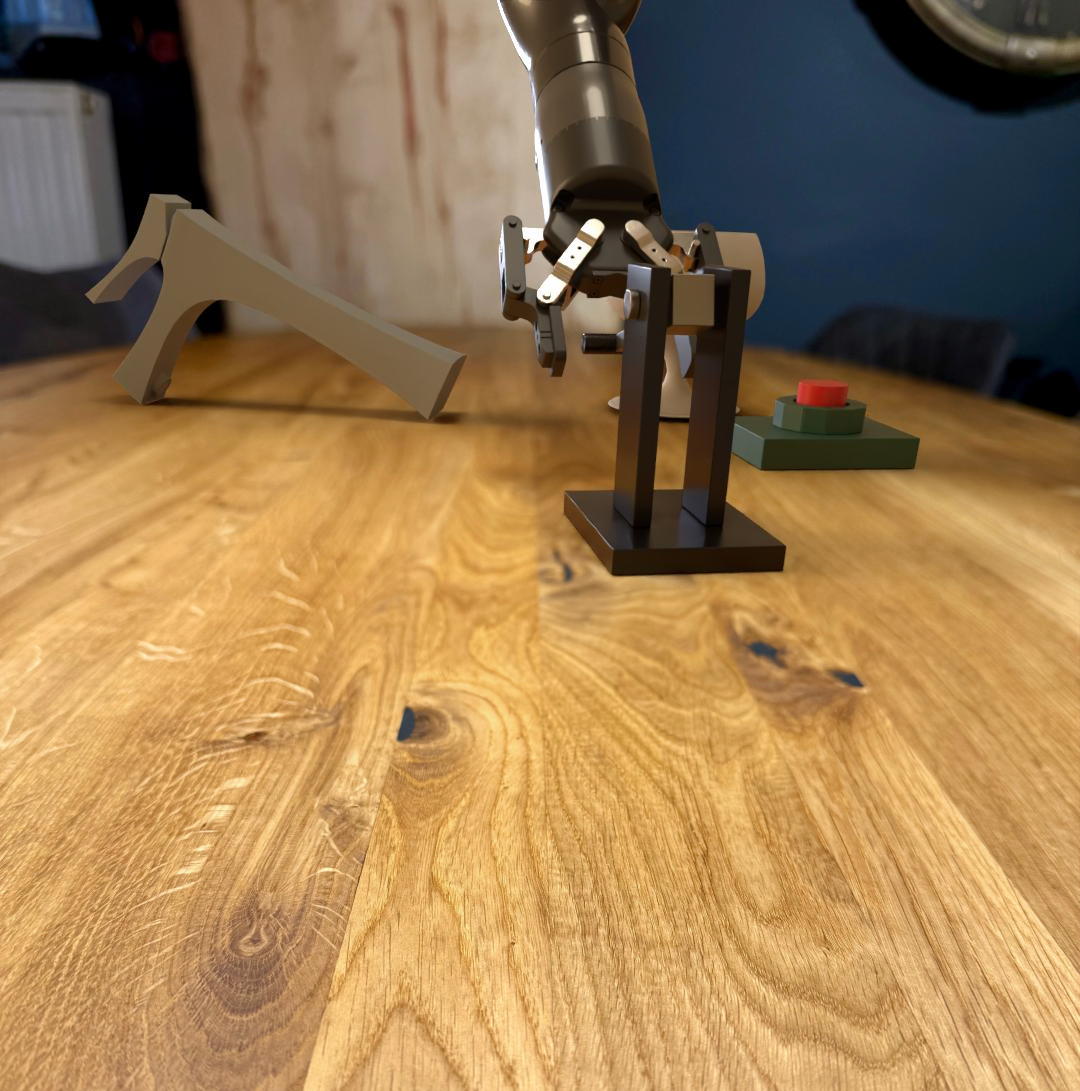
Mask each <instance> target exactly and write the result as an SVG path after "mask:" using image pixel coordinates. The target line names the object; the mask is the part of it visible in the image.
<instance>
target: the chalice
mask: <svg viewBox="0 0 1080 1091" xmlns="http://www.w3.org/2000/svg"><path fill="white" fill-rule="evenodd" d="M671 231H672V233H695V231H696V230H683V229H671ZM715 232H716V236H717V240H718V244H719V248H720V252H721V256H722V260H723V264H724V266H728V267H735V268H742V269H748V270H751V281H750V290H749V299H748V308H747V317H746V321H748V320H749V319H750V318H751V317H752V316H753V315H754V314H755V313H756V311H757V310H758V309H759V308H760V305H761V303H762V301H763V299H764V295H765V290H766V267H765V258H764V252H763V248H762V245H761V242H760V238H759V236H758V235H757V233H755V232H753V233H752V232H735V231H733V232H732V231H715ZM671 256H672V257H673V258H674V259H675V260H676V261H677V262H678V263H679V264H680V265H681V267H682V270H683V267H684V266H683V265H682V263H681V261H680V259H679V258H678V257H676V256H674V255H671ZM683 274H690V272H685V271H683ZM605 298H606V302H607V303H608V305H609V306H610V308H611V310H612V311H613V312H614V313H615V314H616V315H617V316H618V317H619V318H620V319H622V320H623V321H624V322H625V316H624V299H621V298H617V297H612V296H608V297H605ZM664 362H665V366H666V367H665V368H666V374H665V377H664V380H663V381H662V394H661V406H660V418H667V419H690V408H691V397H692V387H691V386H690V384H689V382H688V378H682V376H681V370H680V364H679V359H678V353H677V347H676V342H675V336H674V335H666V343H665V356H664ZM619 403H620V395H618V396H614V397H613V398H611V399H609V401H608V402H607V404H608V405H609V407H611V408H614V409H616V410H618V411H619ZM740 411H741V408H740V407H739V406H738V405H737V407H736V414H738V413H740Z"/></svg>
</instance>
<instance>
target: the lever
mask: <svg viewBox="0 0 1080 1091" xmlns="http://www.w3.org/2000/svg"><path fill="white" fill-rule="evenodd" d="M714 324H715V275H713V274H672V275H671V281H670V293H669V306H668V318H667V331H666V335H697V334H699V333H701V332H703V331H705V330H707V329H709V328H711V327H713V326H714ZM623 340H624V329H623V330H621V331H619V332H618V333H605V332H604V333H600V332H599V333H598V332H593V333H592V332H584V333H583V334H582V335H581V341H580V348H581V353H582V354H583V355H614V356H615V355H616V356H617V355H618V356H619V355H620V356H621V355H623Z"/></svg>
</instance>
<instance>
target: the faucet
mask: <svg viewBox="0 0 1080 1091" xmlns="http://www.w3.org/2000/svg"><path fill="white" fill-rule="evenodd" d="M160 261H161V266H162V269H163V280H162V287H161V289H160V292H159V295H158V298H157V301H156V303H155V306H154V308H153V310H152V313H151V315H150V317H149V319H148V321H147V322H146V324H145V326H144V328H143V330H142V331H141V334H140V335H139V336H138V338H137V340H136V342H135V343H134V345H133V346H132V348H131V350H130V351H128V354H127V355H126V356H125V358H124V359H123V361H122V362H121V363H120V364H119V366H118V368H117V369H116V370H115V371H114V373H113V374H112V376H111V377H112V378H113V379H114V380H115V381H116V383H118V384H119V385H120V387H122V388H123V389H124V390H125V391H126V392H127V393H128V394H129V395H130V396H131V397H132V398H133V399H134V400H135V401H137V403H138V404H139V405H145V404H147V403H151V402H153V401H156V400H160V399H162V398H165V396H166V393H167V390H168V388H169V387H170V385H171V383H172V378H171V377H172V374H173V372H174V369H175V367H176V363H177V361H178V358H179V356H180V353H181V351H182V348H183V346H184V344H185V342H186V339H187V337H188V335H189V333H190V331H191V330H192V328H193V326H194V324H195V322H196V321H197V320H198V319H199V318H200V315H201V314H203V312H204V311H205V310H206V309H207V308H208V307H210V305H212V304H213V303H215V302H218V301H229V302H234V303H238V304H242V305H244V306H247V307H250V308H252V309H255V310H258V311H260V312H263V313H265V314H267V315H270V316H272V317H274V318H276V319H278V320H280V321H282V322H283V323H285V324H287V325H289V326H291V327H292V328H294V329H296V330H298V331H299V332H302V333H303V334H305V335H306V336H308V337H309V338H311V339H313V340H314V341H316V342H317V343H319V344H321V345H322V346H324V347H326V348H327V349H329V350H330V351H332V352H334V353H335V354H337V355H338V356H340V357H342V358H343V359H344V360H346V361H348V362H349V363H351V364H352V365H353V366H355V367H357V368H358V369H360V370H361V371H363V372H364V373H365V374H367V375H368V376H370V377H372V378H373V379H374V380H376V381H377V382H379V383H380V384H382V385H383V386H385V387H386V388H387V389H388V390H390V391H391V392H392V393H394V394H395V395H397V396H398V397H400V398H401V399H402V400H403V401H404V402H406V403H407V404H408V405H410V406H411V407H412V408H413V409H414V410H415V411H416V412H418V413H419V414H420V415H421V416H422V417H424V418H425V419H426V420H431V419H433V418H435V417H436V416H437V415H439V413H440V412H441V411H442V410H444V409H445V406H446V404H447V402H448V399H449V398H450V396H451V393H452V391H453V389H454V386H455V385H456V383H457V380H458V378H459V375H460V373H461V371H462V368H463V367H464V364H465V362H466V360H467V358H468V355H467V354H465V353H462V352H459V351H456V350H453V349H450V348H448V347H445V346H443V345H440V344H437V343H435V342H432V341H430V340H428V339H425V338H423V337H421V336H419V335H417V334H414V333H412V332H410V331H408V330H406V329H403V328H401V327H400V326H397V325H395V324H393V323H390V322H388V321H387V320H385V319H383V318H381V317H378V316H376V315H374V314H372V313H370V312H369V311H366V310H364V309H362V308H360V307H358V306H356V305H354V304H353V303H350V302H349V301H346V300H345V299H343V298H342V297H340V296H338V295H336V294H333V293H331V292H329V291H328V290H325V289H324V288H322V287H320V286H318V285H317V284H315V283H313V282H311V281H309V280H308V279H306V278H304V277H303V276H301V275H299V274H298V273H296V272H295V271H293V270H292V269H290V268H288V267H287V266H285V265H283V264H282V263H281V262H279V261H277V260H275V259H274V258H272V257H271V256H269V255H268V254H266V253H264V252H262V250H259V249H258V248H256V247H255V246H253V245H252V244H250V243H249V242H247V241H246V240H244V239H243V238H241V237H240V236H239V235H237V234H235V233H234V232H233V231H231V230H230V229H229V228H227V227H226V226H224V225H223V224H221V223H220V222H219V221H218V220H217V219H215V218H213V217H212V216H211V215H210V214H209V213H207V212H206V211H205V210H203V209H196V208H195V209H193V208H192V203H191V202H190V201H189V200H186V199H185V198H183V197H181V196H179V195H178V194H161V193H150V194H149V197H148V201H147V204H146V207H145V210H144V214H143V216H142V219H141V221H140V225H139V227H138V229H137V233H136V234H135V237H134V239H133V240H132V243H131V244H130V246H129V248H128V249H127V251H126V252H125V253H124V255H123V256H122V258H121V260H120V261H119V262H118V263H117V264H116V265H115V266H114V267H113V268H112V269H111V271H109V272H108V273H107V274H106V276H104V278H102V279H101V280H100V281H99V282H97V284H96V285H94V286H93V287H92V288H90V290H89V291H87V292H86V293H85V294H84V295H85V296H86V298H88V299H89V300H90V302H91V303H92V304H94V305H95V304H102V303H109V302H116V301H122V300H123V298H124V297H125V296H126V294H127V293H128V292H129V291H130V289H131V288H132V287H133V286H134V284H136V282H137V281H138V280H139V279H140V278H141V277H142V276H143V275H144V274H145V273H146V272H147V271H148V270H149V269H150V268H152V267H153V266H154V265H155V264H156V263H158V262H160Z"/></svg>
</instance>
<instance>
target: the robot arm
mask: <svg viewBox="0 0 1080 1091" xmlns="http://www.w3.org/2000/svg"><path fill="white" fill-rule="evenodd" d="M496 1H497V6H498V8H499V12H500V14H501V18H502V20H503V22H504V25H505V27H506V29H507V32H508V34H509V37H510V38H511V42H512V43H513V45H514V48H515V50H516V52H517V55H518V57H519V59H520V61H521V62H522V65H523V66H524V68H525V70H526V72H527V74H528V76H529V84H530V91H531V98H532V99H531V100H532V106H533V113H534V115H533V116H534V149H535V150H534V151H535V157H534V161H535V162H534V163H535V169H536V171H537V174H538V180H539V186H540V187H539V189H540V195H541V202H542V203H541V204H542V210H543V217H544V227H543V228H537V227H523V221H522V219H521V218H520V217H519V216H516V215H514V214H510V215H506V216H504V218H503V220H502V226H501V231H500V238H499V246H498V265H499V266H498V268H499V284H500V299H501V314H502V317H503V318H504V319H505V320H507V321H509V322H515V321H518V320H519V319H522V320H525V321H527V322H528V323H530V324H531V325H532V327H533V331H534V340H535V347H536V348H535V349H536V353H537V354H536V356H537V362H538V364H539V365H540V367H541V369H548V374H549V377H550V378H562V377H563V375H564V372H565V368H566V363H567V358H568V357H567V356H568V353H567V345H566V344H567V343H566V337H565V336H566V335H565V328H564V322H563V314H562V312H564V311H566V309H567V308H568V307H569V306H570V304H571V303H572V301H573V300H574V299H575V298H576V296H577V295H578V294H579V293H581V294H584V295H585V296H586V299H602V298H606V297H608V296H612V297H617V298H621V299H624V296H625V293H626V291H627V276H628V264H629V263H646V264H652V265H658V266H663V267H669V268H671V275H672V274H683V271H685V272H690V274H703V267H704V265H721V266H724V264H723V260H722V256H721V252H720V248H719V244H718V240H717V236H716V232H717V231H716V229H715V227H714V226H713V225H712V223H709V222H707V221H706V222H705V221H703V222H699V223H698V224H697V225H696V228H695V230H694V231H695V233H672V231H671V230H672V229H671V228H670V227H669V226H668V224H667V223H666V222H665V220H664V218H663V213H662V212H663V211H662V200H661V195H660V194H661V193H660V190H659V183H658V178H657V174H656V173H657V172H656V168H655V162H654V155H653V150H652V145H651V140H650V133H649V128H648V123H647V119H646V114H645V112H644V109H643V105H642V103H641V100H640V99H639V94H638V89H637V82H636V77H635V70H634V66H633V60H632V55H631V50H630V48H629V45H628V43H627V40H626V38H625V37H626V35H627V34H628V32H629V31H630V29H631V27H632V25H633V24H634V22H635V19H636V18H637V16H638V13H639V10H640V9H641V6H642V3H643V0H496ZM537 252H541V254H542V256H543V258H544V259H545V260H546V261H547V262H548V263H549V264H550V265H551V266H552V267H553V268H552V271H551V273H550V274H549V275H548V276H547V278H546V279H545V280H544V282H543V283H542V285H541V286H540V287H539V288H538V289H536V288H532V287H529V286H527V277H526V265H529V264H530V263H531V262H532V260H533V256H534V255H535V254H536V253H537ZM671 255H674V256H676V257H678V258H679V259H680V261H681V263H682V265H683V266H684V267H683V270H682V267H681V265H680V264H679V263H678V262H677V261H676V260H675V259H674V258H673V257H672V256H671ZM674 336H675V342H676V347H677V353H678V359H679V364H680V370H681V376H682V378H687V379H693V375H694V364H695V354H696V343H697V335H674Z"/></svg>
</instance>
